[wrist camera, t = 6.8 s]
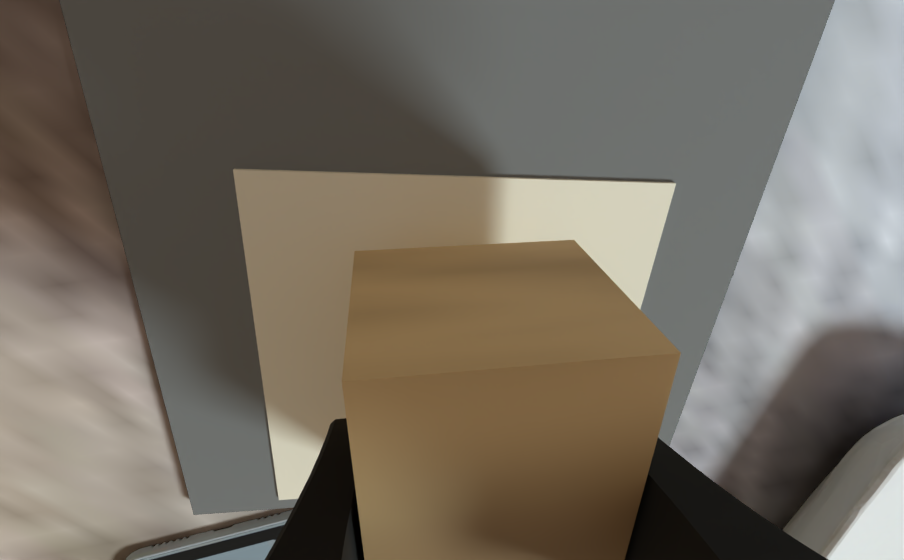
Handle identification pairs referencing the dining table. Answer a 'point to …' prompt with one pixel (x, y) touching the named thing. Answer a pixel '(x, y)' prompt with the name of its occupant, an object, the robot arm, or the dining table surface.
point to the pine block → (499, 403)
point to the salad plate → (859, 501)
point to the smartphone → (221, 542)
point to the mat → (412, 177)
